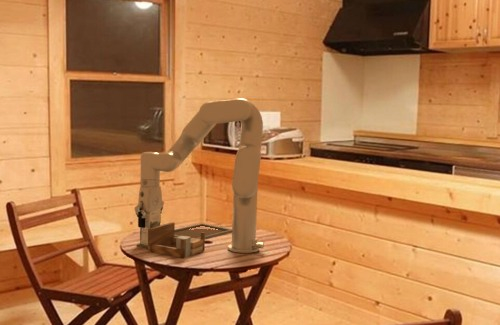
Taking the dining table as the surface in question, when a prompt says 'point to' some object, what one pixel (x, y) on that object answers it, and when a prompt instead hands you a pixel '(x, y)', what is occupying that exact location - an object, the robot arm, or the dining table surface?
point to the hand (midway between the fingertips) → (149, 225)
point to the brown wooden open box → (167, 240)
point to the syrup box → (149, 225)
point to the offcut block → (187, 244)
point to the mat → (142, 245)
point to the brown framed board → (197, 232)
